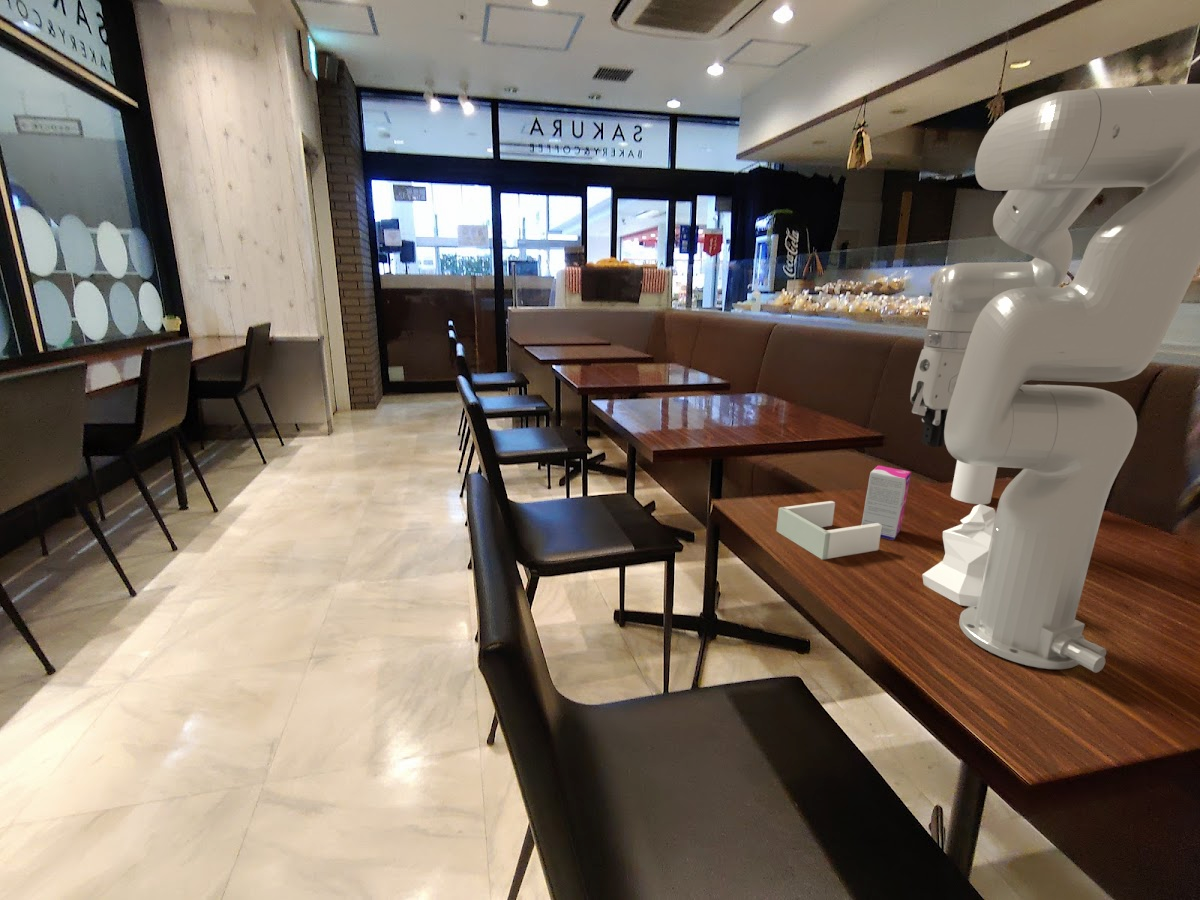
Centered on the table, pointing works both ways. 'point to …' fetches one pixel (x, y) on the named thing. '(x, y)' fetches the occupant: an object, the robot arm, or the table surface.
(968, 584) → the soft serve ice cream
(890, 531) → the supplement box
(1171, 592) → the table surface
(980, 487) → the cylindrical container
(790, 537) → the box
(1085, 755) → the table surface
